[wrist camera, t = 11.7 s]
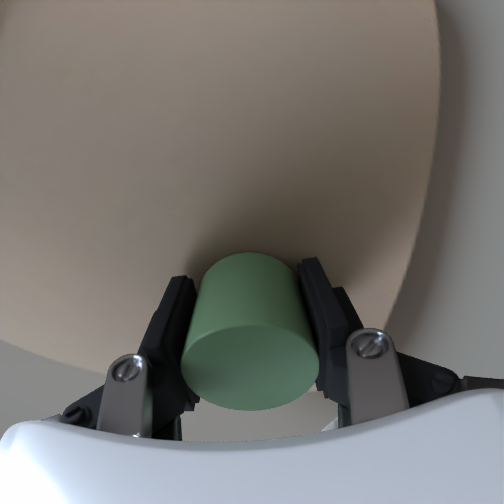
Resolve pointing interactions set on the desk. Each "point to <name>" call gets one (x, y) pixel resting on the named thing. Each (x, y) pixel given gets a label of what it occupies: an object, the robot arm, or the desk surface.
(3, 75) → the desk surface
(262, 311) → the green cylinder
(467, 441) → the robot arm
